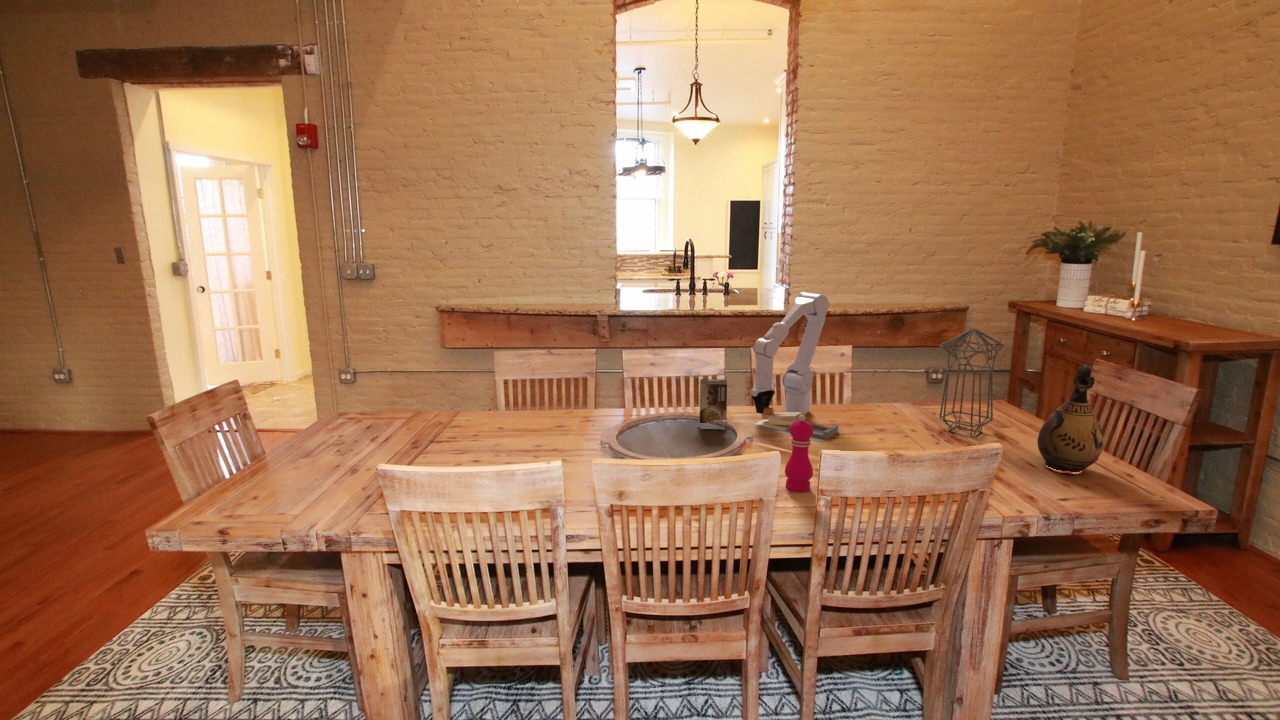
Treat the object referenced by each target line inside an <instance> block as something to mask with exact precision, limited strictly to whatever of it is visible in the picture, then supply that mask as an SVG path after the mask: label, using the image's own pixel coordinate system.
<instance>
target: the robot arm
mask: <svg viewBox="0 0 1280 720" xmlns="http://www.w3.org/2000/svg"><path fill="white" fill-rule="evenodd" d="M829 306H830V301H829V299H828V297H827V296H826V295H825V294H823V293H820V294H819V293H812V292H807V291H801V292H800V293H798V295H797V297H796V298H795V299H794V304H793V305H792V307H791V309H789V311H788V312H787V313H786V315H785V316H784V318H783V319H782V320H781V322H775V323H773V324H772V327H771V328H770V329H769V330H768V331H767V332H766V334H764V335H763V337H760V338H757V340H755V342H754V345H753V346H752V351H753V353H754V358H755V376H754V377H755V379H754V386H753V387H752V388H751V389H750V393H749V395H750V397H751V398H752V400H753V402H754V406H755V411H756V414H761V415H762V414H763V411H764V408H770V404H771V401H772V399H773V397H774V395H775V394H776V384H777V383H776V381H773V374H774V373H773V372H774V356H775V355H777V354H778V350H779V348H780V344H782V342H783V341H784V340H785V338H787V336H788V335H789V334H790V328H791V327H792V326H793V325H794V324H795V323H797V322H798V320H799V319H801V317H802V316H803V315H804V316H805V317H806V319H807V323H806V326H805V330H804V333H803V336H802V340H801V342H800V345H799V348H798V351H797V354H796V357H795V360H794V362H793V363H791V364H790V365H789V366H787V368H786V370H785V372H784V373H783V375H782V378H781V384H782V386H783V387H784V390H785V404H784V405H785V407H784V408H785V409H784V412H802V415H804V416H806V414H808V413H809V412H810V403H811V395H810V393H809V392H810V391H811V389H812V388H813V379H814V375H815V373H814V372H813V371H812V370H811V368H810V367H811V364H812V361H813V358H814V355H815V352H816V348H817V345H818V343H819V340H820V336H821V333H822V331H823V327H824V324H825V322H826V317H827V313H828V309H829Z"/></svg>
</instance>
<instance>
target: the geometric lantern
mask: <svg viewBox="0 0 1280 720" xmlns="http://www.w3.org/2000/svg"><path fill="white" fill-rule="evenodd" d="M972 335H973V336H974V338H975V340H976V342H975V341H974V342H973V341H971V338H972ZM967 338H968V339H967ZM986 338H987V339H988V340H987V339H986ZM989 340H991V342H992V343H990V342H989ZM960 341H961V342H960ZM958 342H960V343H959V344H958ZM981 342H982V343H981ZM957 344H958V345H957ZM963 344H965V347H964V349H962V348H960V347H961V346H962V345H963ZM970 344H972V345H977V348H976V349H975V348H974V347H973V346H972V345H970ZM956 345H957V347H956ZM983 346H984V347H985V348H986V349H985V350H984V348H983ZM939 347H941V349H943V350H944V351H945V352H947V366H946V367H947V369H946V373H945V379H944V380H945V381H944V385H943V386H944V387H943V394H942V398H941V404H940V405H941V406H940V409H939V412H940V413H939V420H941V421H942V422H944V423H945V425H947V427H948V432H949V431H950V432H949V433H951V432H953V433H952V434H956V433H957V432H956V431H953V430H954V429H959V430H964V431H968V432H970V436H974V435H976V432H977V431H976V430H980V431H982V432H983V427H985V426H986V425H988V424H989V423H991V422H993V420H994V419H993V418H994V417H993V415H994V410H993V401H994V399H993V389H994V387H993V371H994V367H995V362H996V358H997V354H998V353H999V352H1000V351H1001V350H1002V349H1003V347H1005V344H1003V343H1001V342H999V341H998V340H996V339H994V338H993V337H991V336H989V335H987V334H986V333H984V332H982V331H981V330H979V329H977V328H969V329H968V330H966V331H964V332H962V333H960V334H958V335H956V336H955V337H953V338H950V339H949V340H947V341H945V342H943V343H941V344H939ZM968 347H969V348H970V349H971V350H969V349H968ZM950 349H951V351H950ZM957 351H959V352H963V356H961V357H960V356H958V354H957ZM993 351H994V352H995V353H994V354H993ZM966 353H972V354H969V355H967V356H966ZM979 354H981V355H984V357H985V359H986V362H985V364H984V365H976V364H971V363H970V361H971V360H972V359H973V357H974V356H976V355H979ZM950 356H952V357H953V358H954V361H953V362H952V363H951V365H950ZM960 360H965V361H966V362H965V363H961V362H960ZM989 360H990V361H991V360H992V365H991V364H990V363H989ZM956 361H958V363H957V364H954V363H955V362H956ZM987 364H988V366H986V365H987ZM956 366H957V367H958V369H953V368H954V367H956ZM961 366H962V367H963V366H964V368H963V370H960V369H961ZM967 366H969V367H970V369H971V371H972V372H970V371H967ZM973 367H975V368H976V367H977V368H981V370H980V371H979V372H976V371H975V369H974V368H973ZM984 369H988V370H986V371H983V370H984ZM950 371H952V372H953V371H954V372H957V374H956V382H955V388H954V397H953V403H952V408H951V411H950V412H949V413H946V412H947V401H948V390H949V389H948V388H949V379H950ZM960 372H961V373H963V378H962V385H961V386H962V388H961V398H960V408H959V411H958V410H957V411H956V410H955V407H956V398H957V393H958V392H957V390H958V385H959V377H960ZM986 373H989V375H988V390H987V407H986V415H981V414H982V412H981V411H982V409H981V408H982V406H981V405H982V375H983V374H986ZM966 374H973V375H972V388H971V404H970V405H971V407H970V408H971V409H970V413H969V412H964V411H963V400H964V390H965V383H966V382H965V380H966ZM976 375H978V376H979V377H978V378H979V381H978V383H979V385H978V414H976V413H974V402H975V401H974V399H975V383H976V382H975V381H976ZM989 412H990V417H989ZM942 414H943V415H942ZM952 414H953V417H954V419H955V421H953V420H949V419H946V417H947V416H951V415H952ZM956 414H959V417H958V420H957V417H956ZM962 415H970V422H968V421H964V420H963V421H961V416H962ZM973 416H975V417H978V423H975V422H973V420H974V419H973V418H974V417H973ZM981 418H984V420H982V419H981ZM981 420H982V421H981ZM950 423H951V424H950ZM954 424H955V426H953V425H954ZM962 427H964V428H962ZM967 428H971V429H967ZM973 429H975V430H973ZM973 432H974V433H973ZM958 433H959V434H958V435H960V434H962V433H960V432H958Z"/></svg>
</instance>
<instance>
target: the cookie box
mask: <svg viewBox="0 0 1280 720" xmlns="http://www.w3.org/2000/svg"><path fill="white" fill-rule="evenodd" d="M727 402H728V381H727V379H720V378H719V379H714V378H707V379H706V378H700V381H699V421H700V423H707V422H711V421H714V420H726V421H727V407H728V405H727V404H728V403H727Z"/></svg>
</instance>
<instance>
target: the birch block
mask: <svg viewBox="0 0 1280 720" xmlns="http://www.w3.org/2000/svg"><path fill="white" fill-rule="evenodd" d="M774 410H775V409H774V407H769V408H764V411H763V414H761V420H762V419H763V420H769V425H791V424H792V423H793V422H795V421H797V420H799V416H800V415H802V412H785V411H784V412H775V411H774Z"/></svg>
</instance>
